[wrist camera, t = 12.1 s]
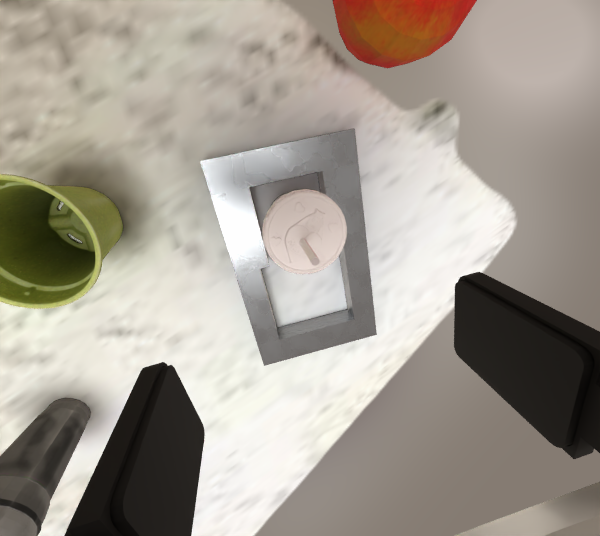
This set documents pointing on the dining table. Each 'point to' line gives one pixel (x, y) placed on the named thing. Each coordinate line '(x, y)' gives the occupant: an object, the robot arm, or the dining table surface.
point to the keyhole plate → (251, 251)
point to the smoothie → (304, 231)
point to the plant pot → (52, 241)
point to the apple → (398, 28)
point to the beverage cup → (38, 466)
